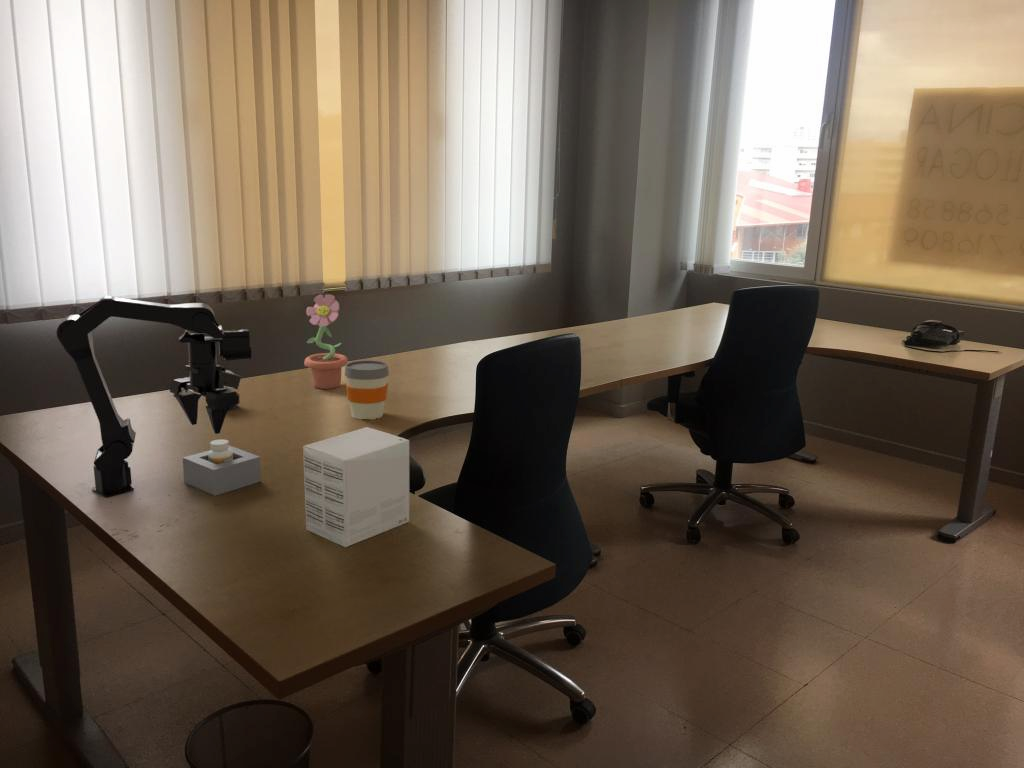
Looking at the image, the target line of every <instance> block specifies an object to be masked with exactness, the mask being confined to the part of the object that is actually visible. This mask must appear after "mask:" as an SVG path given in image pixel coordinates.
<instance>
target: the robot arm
mask: <svg viewBox="0 0 1024 768" xmlns="http://www.w3.org/2000/svg"><path fill="white" fill-rule="evenodd" d="M112 317H113V318H122V319H130V320H135V321H136V320H138V321H144V322H145V321H147V322H152V323H153V322H154V323H161V324H162V323H163V324H170V325H172V326H176V327H177V328H180V329H182V330H185V331H184V333H183V334H181V336H179V337H178V342H179V343H180V344H181V343H182V344H184V343H185V344H186V343H187V345H188V365H185V366H184V367H185V371H186V372H189V376H187V377H182V378H176V379H172V380H171V382H170V383H169V393H171V394H173V397H174V398H175V399H176V400H177V402H178V404H179V405H180V407H181V409H182V410H183V412H184V414H185V416H186V417H187V420H189V423H190V424H191V425H192V426H195V425H197V423H198V412H199V400H200V398H201V397H202V396H203V397H205V403H206V405H205V410H206V412H207V414H208V419H209V421H210V423H211V427H212V430H213V432H214V434H215V435H217V434H218V435H219V434H220V433H221V430H222V427H223V425H224V421H225V419H226V416H227V413H228V411H230V410H229V409H230V408H231V407H234V406H235V405H236V404H237V405H239V404H240V394H239V393H238V392H237V391H236V390H238V389H239V385H240V383H241V380H242V376H241V375H239V374H236V373H234V372H233V373H234V374H233V373H229V372H226V370H227V369H226V367H225V366H222V365H221V364H220V365H219V364H217V343H218V351H219V353H218V354H219V355H218V356H219V357H222V359H224V361H226V362H227V361H251V360H252V345H251V339H250V338H251V337H250V330H249V329H248V328H247V329H246V328H245V329H239V330H235V329H234V330H224V328H223V325H221V324H220V323H219V322H218V321H217V320H216V317H215V312H214V310H213V308H212V306H210V305H208V304H207V303H205V302H204V303H203V302H189V303H187V302H186V303H179V304H178V303H177V304H167V303H160V302H152V301H151V302H150V301H145V300H137V299H128V298H123V297H122V298H120V297H116V296H112V295H105V296H104V295H103V296H102V297H101V298H100V299H99V300H98V301H97V302H96V303H93V304H92V305H90V306H89V307H87V308H86V309H84V310H82V311H81V312H80V313H78V314H70V315H68V316H66V317H65V318H63V319H62V320H61V322H60V324H59V325H58V326H57V329H56V338H57V340H58V341H59V343H60V345H61V346H62V347H63V349H64V351H65V352H66V353H67V354H68V355H69V357H70V358H71V359H72V361H74V363H75V365H76V367H77V370H78V373H79V375H80V378H81V381H82V383H83V385H84V387H85V390H86V393H87V395H88V397H89V400H90V402H91V405H92V407H93V409H94V412H95V415H96V417H97V420H98V423H99V431H100V438H101V442H102V443H101V444H102V445H101V446H100V447H99V448H98V449H97V451H96V454H95V456H94V457H95V458H94V461H93V465H92V466H93V475H94V476H93V477H94V483H95V484H94V485H95V486H93V487H92V488H91V490H92V491H93V492H94V493H95V492H96V494H98V495H101V496H103V497H105V498H109V497H112V496H116V495H119V494H122V493H126V492H129V491H133V490H134V489H135V486H133V485H132V483H133V481H132V470H131V467H130V466H129V462H128V461H127V460H126V459H128V458H129V457H130V456H131V454H132V453H133V450H134V443H135V440H136V434H137V433H136V431H135V430H134V429H133V427H132V423H131V418H130V417H127V418H125V419H123V418H122V417H121V416H120V414H119V412H118V411H117V408H116V405H115V402H114V400H113V397H112V395H111V393H110V391H109V388H108V385H107V383H106V380H105V378H104V376H103V373H102V369H101V367H100V365H99V362H98V360H97V357H96V355H95V348H94V338H93V333H92V332H93V331H94V330H95V329H96V328H98V327H99V326H100V325H101V324H103V323H104V322H105V321H107V320H108V319H110V318H112ZM192 332H193V333H192ZM205 334H206V335H208V336H205ZM225 386H228V387H233V390H230V389H225ZM222 388H224V389H222ZM216 389H222V390H216ZM234 389H235V390H234Z"/></svg>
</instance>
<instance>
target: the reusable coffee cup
mask: <svg viewBox="0 0 1024 768" xmlns="http://www.w3.org/2000/svg"><path fill="white" fill-rule="evenodd" d="M344 376H345V379H346V383H345V389H346V395H347V397H346V398H347V401H349V406H350V412H351V417H352V418H353V417H354V418H353V419H356V418H357V420H362V419H371V420H377V419H380V418H382V417H383V416H384V407H385V401H386V400H387V394H388V387H389V384H388V377H389V365H388V363H387V362H384V361H379V360H371V359H369V360H368V359H367V360H363V359H362V360H355V361H350V362H348V363H347V364H346V365H345V366H344ZM376 418H377V419H376Z"/></svg>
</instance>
